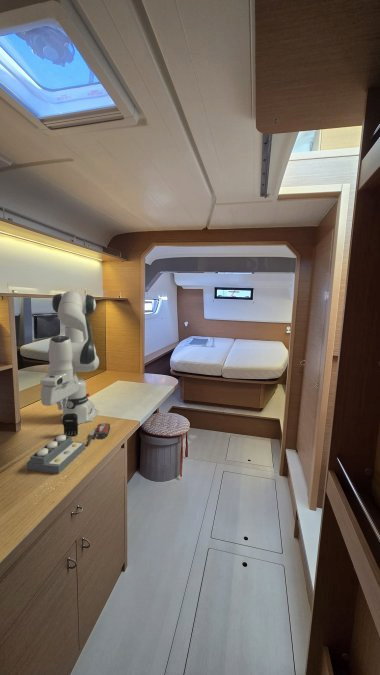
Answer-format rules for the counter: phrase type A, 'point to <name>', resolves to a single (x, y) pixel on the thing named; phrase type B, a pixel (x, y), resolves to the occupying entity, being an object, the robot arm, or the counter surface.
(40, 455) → the button
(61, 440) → the button
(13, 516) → the counter surface
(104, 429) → the walkie-talkie
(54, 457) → the pattern board
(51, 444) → the middle button
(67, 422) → the battery charger
